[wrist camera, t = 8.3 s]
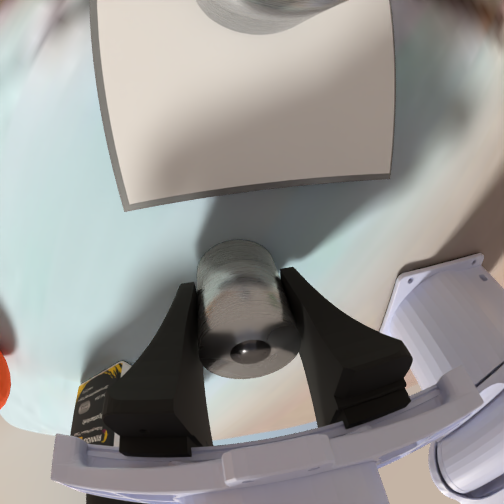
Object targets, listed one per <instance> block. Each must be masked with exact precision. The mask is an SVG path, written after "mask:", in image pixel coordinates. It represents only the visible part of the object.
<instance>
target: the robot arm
mask: <svg viewBox="0 0 504 504" xmlns="http://www.w3.org/2000/svg"><path fill="white" fill-rule="evenodd" d="M483 260H484V255H483V254H482V253H478V254H474V255H471V256H467V257H464V258H460V259H456V260H453V261H449V262H445V263H441V264H437V265H434V266H430V267H426V268H422V269H418V270H413V271H409V272H405V273H402V274H401V275H399V276H398V278H397V280H396V283H395V287H394V290H393V293H392V296H391V300H390V303H389V306H388V309H387V312H386V315H385V317H384V320H383V323H382V326H381V329H380V331H379V332H378V331H376V330H373V329H371V328H369V327H367V326H365V325H364V324H362V323H360V322H358V321H356V320H355V319H353V318H351V317H350V316H348V315H346V314H345V313H344V312H342V311H341V310H339V309H338V308H337V307H335V306H334V305H333V304H332V303H330V302H329V301H328V300H327V299H325V298H324V297H323V296H322V295H321V294H320V293H319V292H318V291H317V290H315V289H314V288H313V287H312V286H311V285H310V284H309V283H308V282H307V281H306V280H305V279H304V278H303V277H302V276H301V275H300V274H299V272H298V271H297V270H296V269H295V268H294V267H289V268H283V269H280V280H281V283H282V285H283V288H284V291H285V294H286V297H287V299H288V302H289V305H290V308H291V311H292V313H293V316H294V319H295V322H296V325H297V327H298V330H299V333H300V336H301V347H300V350H299V354H300V357H301V360H302V363H303V366H304V370H305V374H306V378H307V382H308V385H309V389H310V393H311V398H312V402H313V406H314V411H315V416H316V420H317V425H318V428H315V429H311V430H307V431H304V432H299V433H294V434H290V435H285V436H280V437H275V438H270V439H264V440H258V441H251V442H244V443H237V444H229V445H219V446H213V442H212V437H211V431H210V425H209V419H208V412H207V404H206V397H205V388H204V378H203V365H202V363H201V361H200V359H199V354H198V321H197V292H196V288H195V284H194V282H191V283H184V284H181V285H180V286H179V289H178V291H177V294H176V296H175V299H174V301H173V303H172V305H171V307H170V309H169V311H168V313H167V316H166V317H165V319H164V321H163V323H162V325H161V326H160V328H159V330H158V332H157V333H156V335H155V337H154V338H153V340H152V341H151V343H150V344H149V346H148V347H147V348H146V350H145V351H144V352H143V354H142V355H141V356H140V357H139V359H138V360H137V361H136V362H135V363H134V364H133V365H132V367H131V368H130V369H129V370H128V371H127V372H126V373H125V374H124V375H123V376H122V377H121V378H120V379H119V380H118V381H116V382H115V383H114V384H113V385H112V386H111V387H110V388H108V389H107V390H106V394H105V398H104V403H103V410H102V421H103V422H104V424H105V425H106V426H107V427H109V428H110V429H111V430H112V431H114V432H115V433H116V434H118V435H119V436H120V439H119V447H114V446H103V445H94V444H87V443H86V442H85V441H84V440H82V439H80V438H78V437H75V436H69V435H63V434H56V438H55V444H54V452H53V460H52V470H51V480H53V481H55V482H57V483H59V484H62V485H64V486H67V487H69V488H72V489H75V490H77V491H80V492H83V493H87V494H92V495H97V496H102V497H107V498H113V499H118V500H125V501H131V502H139V503H148V504H389V501H388V498H387V495H386V492H385V489H384V487H383V483H382V481H381V478H380V475H379V472H378V468H381V467H383V466H385V465H387V464H390V463H392V462H394V461H396V460H398V459H400V458H402V457H404V456H406V455H408V454H410V453H412V452H414V451H416V450H418V449H420V448H422V447H423V446H425V445H427V444H429V443H430V442H431V445H430V449H429V470H430V474H431V477H432V480H433V482H434V483H435V485H436V486H437V488H438V489H439V490H440V491H441V492H442V493H443V494H444V495H446V496H447V497H449V498H452V499H455V500H457V501H458V502H460V503H461V504H504V289H503V288H502V286H501V285H500V284H499V283H498V282H497V281H496V280H495V279H494V278H493V277H492V276H491V275H490V274H489V273H488V272H487V271H486V270H485V269H484V268H483V267H482V266H481V265H482V262H483ZM409 369H411V370H412V372H413V374H414V376H415V378H416V380H417V382H418V383H419V385H420V387H421V389H422V391H420V392H418V393H416V394H414V395H411V396H408V393H407V391H406V389H405V387H406V382H405V380H404V377H405V375H406V373H407V372H408V370H409Z"/></svg>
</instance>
